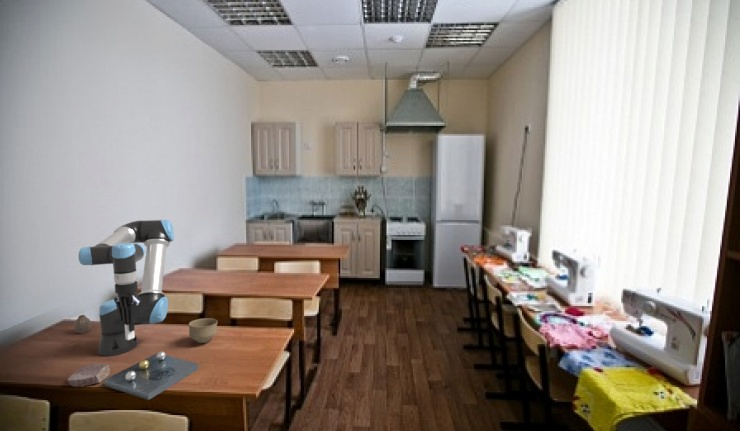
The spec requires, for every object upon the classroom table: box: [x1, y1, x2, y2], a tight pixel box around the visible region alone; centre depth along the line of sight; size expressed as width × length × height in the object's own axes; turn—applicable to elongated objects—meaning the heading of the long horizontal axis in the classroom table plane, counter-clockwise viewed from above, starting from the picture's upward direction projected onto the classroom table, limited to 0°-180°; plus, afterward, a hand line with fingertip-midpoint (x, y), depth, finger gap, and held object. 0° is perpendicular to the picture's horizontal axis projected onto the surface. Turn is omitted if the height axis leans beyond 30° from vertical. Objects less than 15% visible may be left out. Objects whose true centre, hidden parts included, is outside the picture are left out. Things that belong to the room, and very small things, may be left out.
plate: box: [103, 352, 199, 401], centre depth 141 cm, size 24×22×2 cm
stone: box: [67, 363, 111, 388], centre depth 139 cm, size 9×12×5 cm
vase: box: [73, 314, 92, 335], centre depth 182 cm, size 7×7×9 cm
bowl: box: [188, 317, 218, 344], centre depth 172 cm, size 13×13×10 cm
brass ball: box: [139, 359, 149, 369], centre depth 143 cm, size 4×4×4 cm
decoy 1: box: [156, 351, 167, 360], centre depth 150 cm, size 4×4×4 cm
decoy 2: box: [125, 371, 136, 381], centre depth 135 cm, size 4×4×4 cm
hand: (130, 338), depth 144 cm, fingers closed
